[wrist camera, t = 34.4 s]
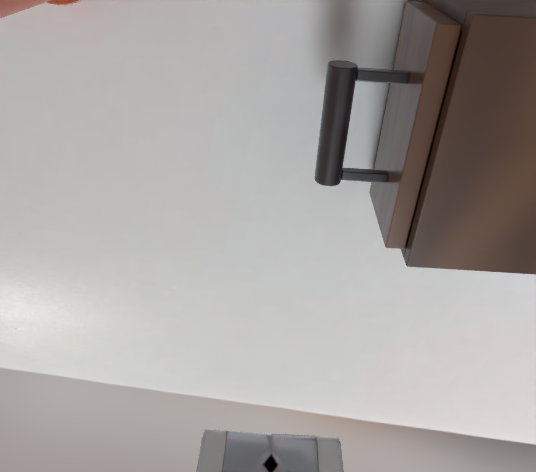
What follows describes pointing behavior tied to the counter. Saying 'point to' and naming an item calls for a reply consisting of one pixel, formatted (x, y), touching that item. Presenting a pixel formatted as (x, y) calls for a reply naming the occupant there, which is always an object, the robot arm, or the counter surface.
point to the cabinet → (483, 147)
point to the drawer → (394, 117)
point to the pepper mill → (26, 5)
